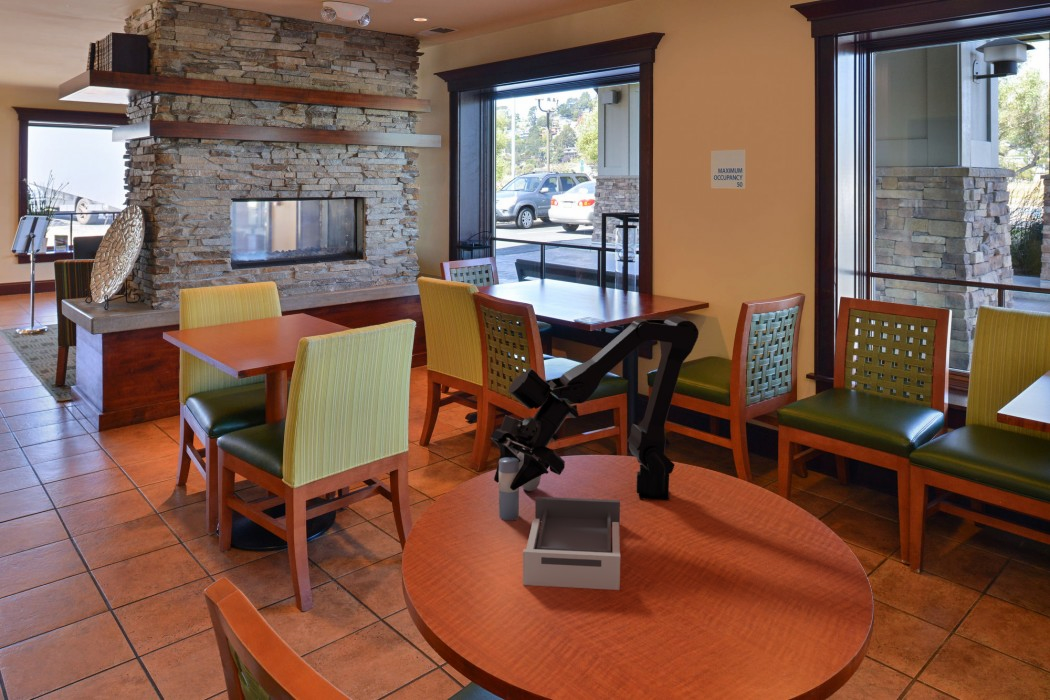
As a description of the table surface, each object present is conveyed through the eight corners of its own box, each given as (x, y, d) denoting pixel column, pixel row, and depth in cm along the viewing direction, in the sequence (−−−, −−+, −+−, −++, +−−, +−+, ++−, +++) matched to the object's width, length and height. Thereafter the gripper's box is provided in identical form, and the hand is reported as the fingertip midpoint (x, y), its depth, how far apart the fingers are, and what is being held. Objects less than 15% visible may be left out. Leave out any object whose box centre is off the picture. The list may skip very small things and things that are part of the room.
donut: (543, 496, 172) (543, 453, 170) (528, 498, 171) (528, 454, 169) (528, 481, 181) (528, 439, 179) (514, 482, 180) (514, 440, 178)
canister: (520, 512, 163) (520, 457, 161) (517, 521, 159) (517, 464, 157) (500, 512, 164) (500, 456, 161) (497, 520, 160) (497, 463, 157)
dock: (533, 538, 151) (533, 508, 150) (618, 542, 150) (619, 512, 148) (522, 584, 133) (522, 551, 132) (619, 589, 132) (620, 556, 130)
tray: (535, 518, 159) (535, 496, 159) (619, 522, 158) (620, 500, 157) (526, 560, 142) (526, 535, 141) (620, 564, 140) (621, 540, 139)
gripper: (497, 391, 166) (453, 452, 162) (554, 410, 152) (508, 477, 147) (526, 420, 172) (485, 479, 168) (583, 441, 158) (541, 507, 154)
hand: (503, 485), depth 159 cm, fingers open, 5 cm apart
